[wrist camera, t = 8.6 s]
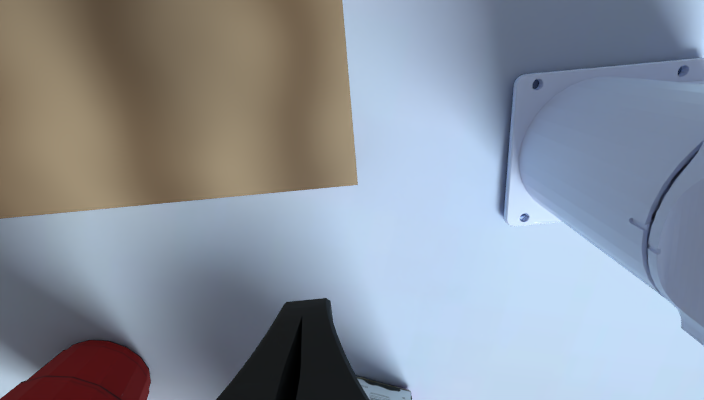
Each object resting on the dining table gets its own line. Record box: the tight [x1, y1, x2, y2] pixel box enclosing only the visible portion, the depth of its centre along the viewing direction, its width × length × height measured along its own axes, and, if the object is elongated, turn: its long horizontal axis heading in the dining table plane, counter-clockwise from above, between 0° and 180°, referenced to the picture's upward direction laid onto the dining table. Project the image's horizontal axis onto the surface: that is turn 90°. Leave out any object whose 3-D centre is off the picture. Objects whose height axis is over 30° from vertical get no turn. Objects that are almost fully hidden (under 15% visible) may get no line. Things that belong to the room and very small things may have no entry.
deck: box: [0, 0, 358, 219], centre depth 16 cm, size 24×10×2 cm, turn 95°
